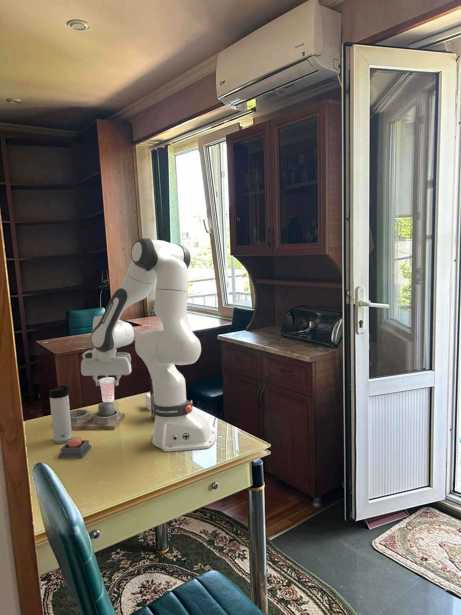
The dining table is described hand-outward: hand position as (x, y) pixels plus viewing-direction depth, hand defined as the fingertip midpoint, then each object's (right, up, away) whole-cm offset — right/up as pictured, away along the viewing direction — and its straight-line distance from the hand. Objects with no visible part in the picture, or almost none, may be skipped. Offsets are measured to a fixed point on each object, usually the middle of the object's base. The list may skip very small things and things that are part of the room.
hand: (107, 385), depth 192 cm
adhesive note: (+19, -11, +6) cm, 22 cm away
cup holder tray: (-3, -13, -10) cm, 17 cm away
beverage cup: (0, -7, +1) cm, 7 cm away
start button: (-1, -14, -36) cm, 39 cm away
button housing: (-1, -17, -36) cm, 39 cm away
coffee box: (+24, -12, -6) cm, 27 cm away
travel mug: (-9, -16, -25) cm, 31 cm away
